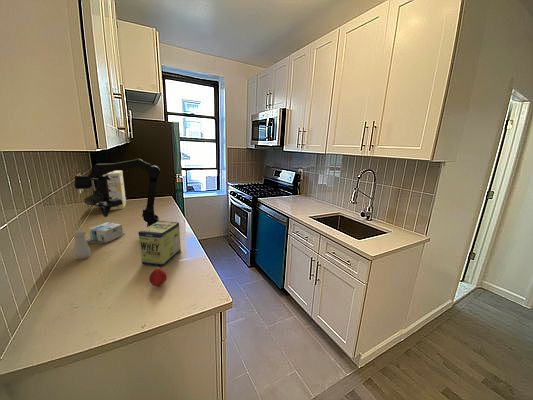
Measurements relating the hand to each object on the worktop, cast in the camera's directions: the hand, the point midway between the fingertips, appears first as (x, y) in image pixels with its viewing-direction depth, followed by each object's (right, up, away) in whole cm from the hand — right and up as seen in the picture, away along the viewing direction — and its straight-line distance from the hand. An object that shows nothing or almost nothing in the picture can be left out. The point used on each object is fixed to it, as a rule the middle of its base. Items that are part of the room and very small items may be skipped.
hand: (105, 216), depth 120 cm
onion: (+46, -24, -36) cm, 63 cm away
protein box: (+38, -18, -15) cm, 45 cm away
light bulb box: (+4, -9, +1) cm, 10 cm away
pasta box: (-35, +4, +62) cm, 71 cm away
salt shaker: (+2, -18, -18) cm, 25 cm away
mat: (-3, -12, +4) cm, 13 cm away
